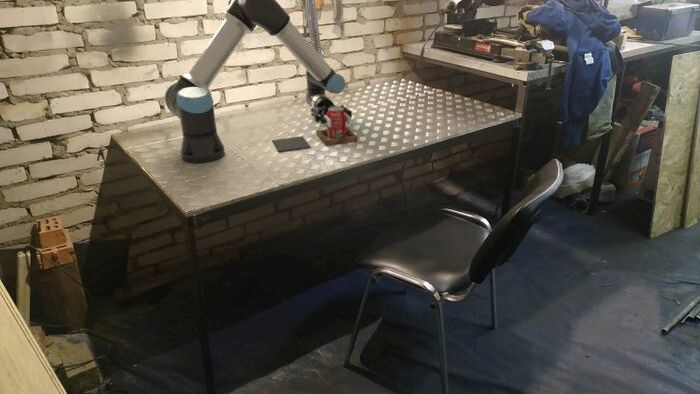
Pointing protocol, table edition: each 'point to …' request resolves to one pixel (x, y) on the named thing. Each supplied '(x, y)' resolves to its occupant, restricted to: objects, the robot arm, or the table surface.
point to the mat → (291, 144)
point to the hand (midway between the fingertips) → (340, 122)
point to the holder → (336, 141)
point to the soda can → (336, 122)
